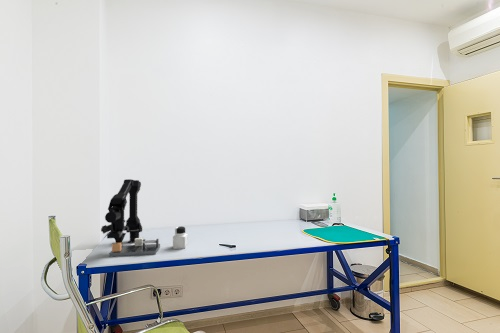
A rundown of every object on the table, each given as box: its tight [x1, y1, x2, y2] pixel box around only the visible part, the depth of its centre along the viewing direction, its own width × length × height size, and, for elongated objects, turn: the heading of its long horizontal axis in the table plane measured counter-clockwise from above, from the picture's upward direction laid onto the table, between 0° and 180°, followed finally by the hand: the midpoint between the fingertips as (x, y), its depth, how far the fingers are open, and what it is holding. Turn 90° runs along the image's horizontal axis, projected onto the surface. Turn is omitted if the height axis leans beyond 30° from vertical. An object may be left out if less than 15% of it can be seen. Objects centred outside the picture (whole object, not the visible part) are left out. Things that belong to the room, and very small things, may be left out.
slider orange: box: [111, 242, 123, 252], centre depth 149 cm, size 3×4×4 cm
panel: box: [108, 238, 161, 258], centre depth 155 cm, size 14×24×7 cm, turn 99°
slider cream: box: [134, 237, 144, 246], centre depth 159 cm, size 3×4×4 cm
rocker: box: [143, 239, 156, 244], centre depth 156 cm, size 11×6×1 cm, turn 9°
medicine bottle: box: [172, 226, 188, 250], centre depth 163 cm, size 7×7×12 cm
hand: (118, 247), depth 153 cm, fingers closed
